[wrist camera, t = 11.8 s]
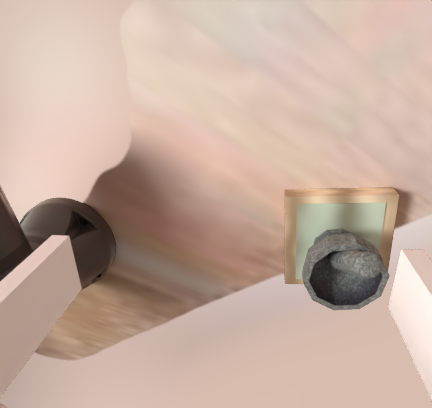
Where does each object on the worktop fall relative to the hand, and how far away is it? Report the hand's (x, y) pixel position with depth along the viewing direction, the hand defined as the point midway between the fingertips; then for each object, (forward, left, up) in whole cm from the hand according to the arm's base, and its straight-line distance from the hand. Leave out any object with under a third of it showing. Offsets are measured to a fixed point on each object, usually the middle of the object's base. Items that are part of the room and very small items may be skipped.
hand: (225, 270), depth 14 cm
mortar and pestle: (+11, -17, -31) cm, 37 cm away
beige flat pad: (+11, -17, -34) cm, 39 cm away
